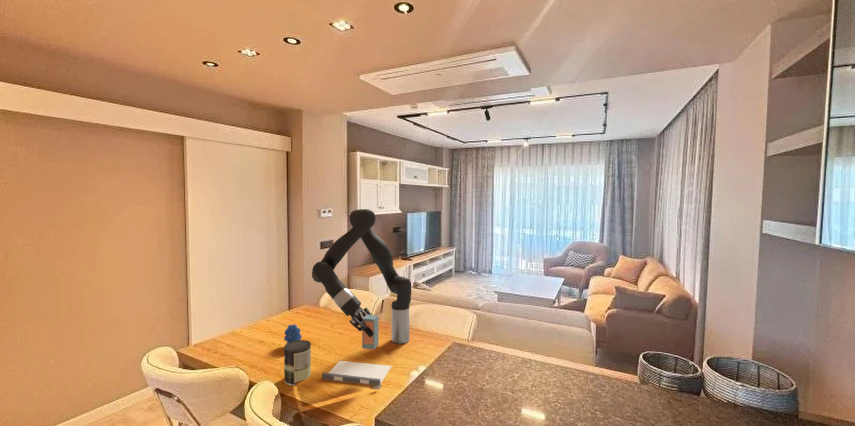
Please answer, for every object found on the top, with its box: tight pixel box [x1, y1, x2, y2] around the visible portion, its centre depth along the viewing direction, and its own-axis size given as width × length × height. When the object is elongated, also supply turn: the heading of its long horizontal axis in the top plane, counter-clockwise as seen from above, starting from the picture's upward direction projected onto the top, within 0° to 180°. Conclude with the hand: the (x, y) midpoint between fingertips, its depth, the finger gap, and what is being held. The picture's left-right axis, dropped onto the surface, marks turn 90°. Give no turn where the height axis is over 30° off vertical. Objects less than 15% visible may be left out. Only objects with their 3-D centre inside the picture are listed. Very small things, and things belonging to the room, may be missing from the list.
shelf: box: [321, 360, 393, 390], centre depth 141 cm, size 16×24×4 cm
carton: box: [361, 314, 379, 350], centre depth 138 cm, size 5×5×12 cm
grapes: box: [283, 323, 302, 344], centre depth 169 cm, size 12×7×12 cm, turn 59°
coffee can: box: [283, 339, 312, 387], centre depth 138 cm, size 10×10×14 cm
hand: (374, 332), depth 138 cm, fingers closed on carton, 5 cm apart
